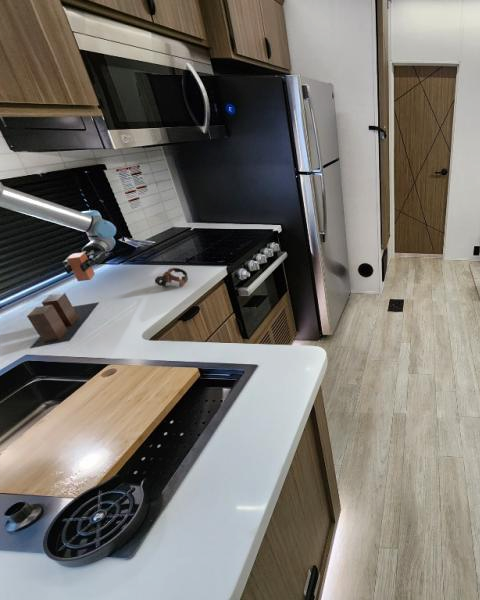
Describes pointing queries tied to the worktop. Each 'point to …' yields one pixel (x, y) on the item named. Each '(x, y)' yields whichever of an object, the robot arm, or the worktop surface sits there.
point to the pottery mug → (171, 277)
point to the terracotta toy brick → (75, 263)
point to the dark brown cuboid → (47, 323)
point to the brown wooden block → (62, 308)
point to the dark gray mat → (83, 314)
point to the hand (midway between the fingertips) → (74, 269)
